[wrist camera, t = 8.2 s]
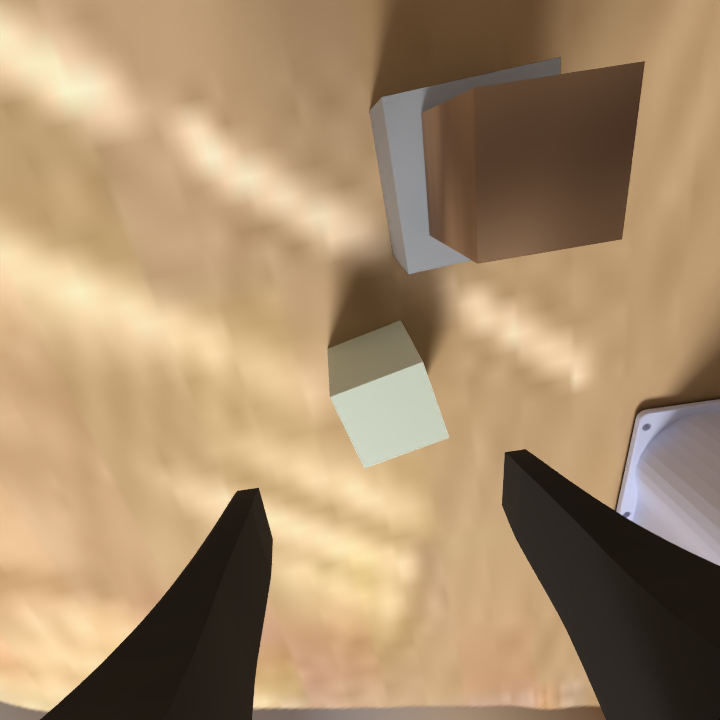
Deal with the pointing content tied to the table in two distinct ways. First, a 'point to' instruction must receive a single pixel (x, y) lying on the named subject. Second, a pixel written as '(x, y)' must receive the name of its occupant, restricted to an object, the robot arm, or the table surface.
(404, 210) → the grey base block
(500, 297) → the table surface
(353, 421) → the sage block
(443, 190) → the walnut block
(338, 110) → the table surface
